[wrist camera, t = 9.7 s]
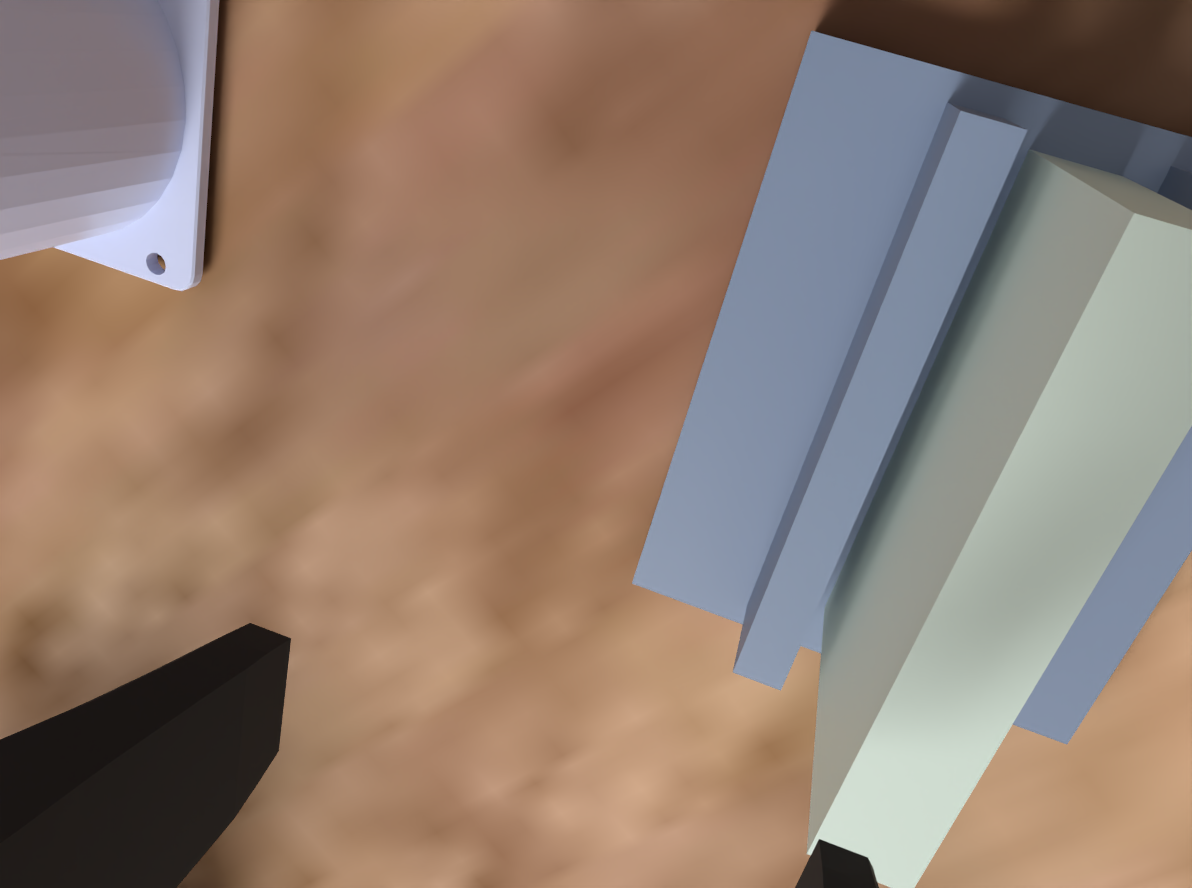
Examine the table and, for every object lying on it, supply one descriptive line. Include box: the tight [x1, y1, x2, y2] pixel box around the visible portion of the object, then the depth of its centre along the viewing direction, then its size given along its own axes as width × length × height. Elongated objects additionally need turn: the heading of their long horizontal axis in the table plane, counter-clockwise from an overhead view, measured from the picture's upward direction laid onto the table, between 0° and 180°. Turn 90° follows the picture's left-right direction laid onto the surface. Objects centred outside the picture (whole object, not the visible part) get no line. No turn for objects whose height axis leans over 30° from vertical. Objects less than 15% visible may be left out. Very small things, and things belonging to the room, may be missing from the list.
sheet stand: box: [632, 31, 1192, 744], centre depth 17 cm, size 10×12×4 cm
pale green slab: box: [807, 149, 1192, 888], centre depth 15 cm, size 2×10×7 cm, turn 167°
